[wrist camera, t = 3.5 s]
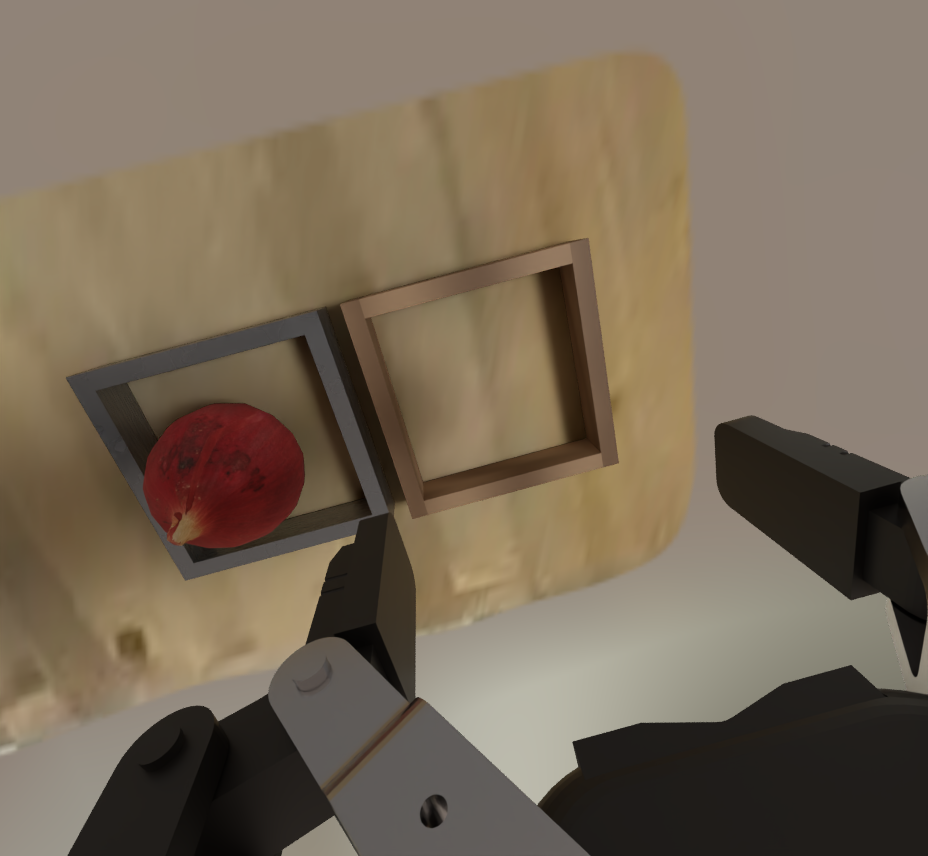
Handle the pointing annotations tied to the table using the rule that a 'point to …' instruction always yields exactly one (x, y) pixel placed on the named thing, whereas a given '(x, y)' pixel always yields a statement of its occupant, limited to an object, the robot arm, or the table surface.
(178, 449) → the pomegranate
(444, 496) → the walnut frame
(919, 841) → the robot arm
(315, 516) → the grey frame
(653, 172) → the table surface
